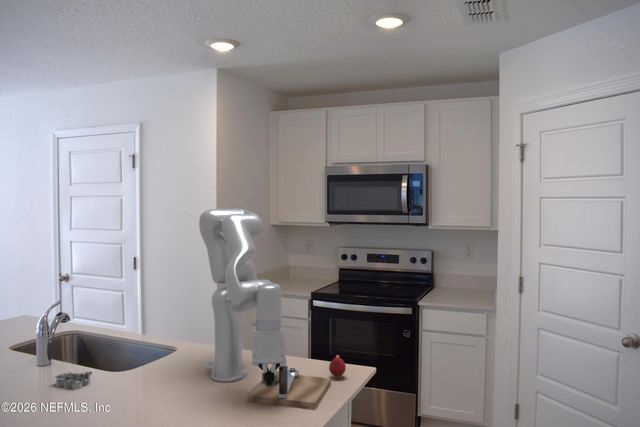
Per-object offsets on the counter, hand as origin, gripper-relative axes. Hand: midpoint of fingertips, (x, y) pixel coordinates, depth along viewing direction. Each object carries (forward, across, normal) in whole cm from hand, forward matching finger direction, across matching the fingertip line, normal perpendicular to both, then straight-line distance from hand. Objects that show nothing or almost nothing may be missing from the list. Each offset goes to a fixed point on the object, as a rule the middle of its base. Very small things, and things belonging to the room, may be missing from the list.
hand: (269, 383), depth 142 cm
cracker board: (+6, +6, +9) cm, 13 cm away
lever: (+4, +6, +9) cm, 11 cm away
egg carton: (+6, -68, +18) cm, 70 cm away
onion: (+7, +22, +21) cm, 31 cm away
